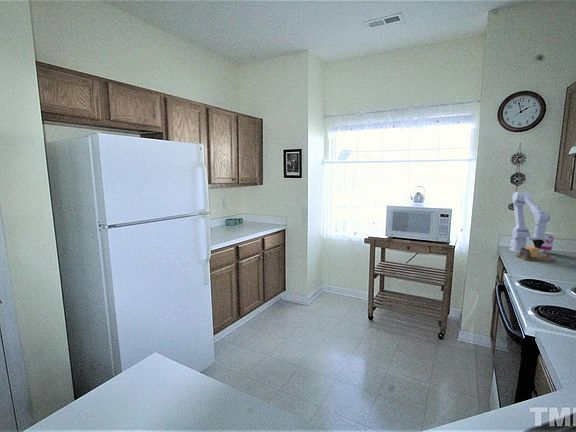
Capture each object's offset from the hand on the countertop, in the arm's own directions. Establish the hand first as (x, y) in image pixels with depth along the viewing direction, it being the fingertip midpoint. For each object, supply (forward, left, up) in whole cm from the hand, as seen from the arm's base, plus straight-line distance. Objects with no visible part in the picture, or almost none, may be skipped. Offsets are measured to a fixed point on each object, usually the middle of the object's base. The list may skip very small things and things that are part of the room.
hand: (536, 250), depth 211 cm
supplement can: (-17, +18, -6) cm, 26 cm away
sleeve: (0, -3, -4) cm, 5 cm away
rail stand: (0, 0, -6) cm, 6 cm away
